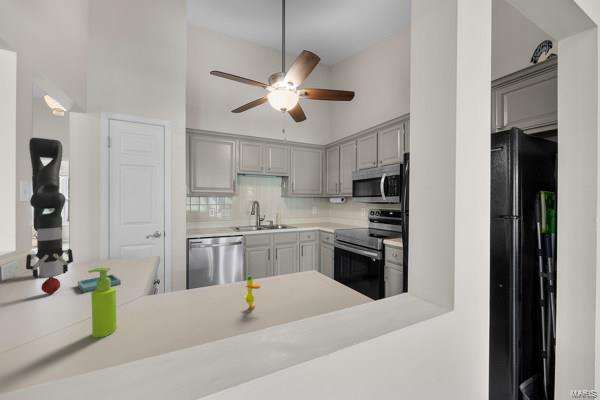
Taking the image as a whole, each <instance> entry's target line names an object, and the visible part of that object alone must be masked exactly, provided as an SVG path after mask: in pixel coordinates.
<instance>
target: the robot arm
mask: <svg viewBox="0 0 600 400" xmlns="http://www.w3.org/2000/svg"><path fill="white" fill-rule="evenodd" d="M28 147H29V155H30V161H31V170H32V172H31V173H32V174H31V179H32V180H31V185H32V187H31V189H32V194H31V197H30V201H29V202H30V206H31V207H32V208H33V217H32V219H33V220H32V221H33V223H32V224H33V230H34V231H36V243H37V244H36V247H37V248H36V249H37V252H36V253H32V254H31V253H28V254H26V257H25V258H26V259H25V261H26V262H25V268H26V270H31V271H32V277H33V278H35V279H39V278H49V276H52V277H54V276H55V277H56V276H59V275H61V274H66V273H67V272H68V270H69V269H68V267H69V264H70V263H73V262H74V256H73V249H71V248H68V249H64V250H63V216H62V212H63V209H64V206H65V203H66V196H65V195H64V193H62V192H59V189H60V170H61V165H62V158H63V145H62V142H61V141H60V140H57V139H53V138H51V139H50V138H44V137H31V138H30V139H29V145H28ZM41 158H42V159H51V160H50V161H49V162H48V163H47V164H45V165H44V163H43V162H42V159H41ZM50 209H51V210H52V209H53V211H52V212H49V213H46V214H45V213H44V211H45V210H50ZM63 254H65V255H67V257H68V260H66V259H64V258H63V257H64V256H63ZM34 258H37V259H38V260H37V261H36V262H35V264H33V265H31V264H32V260H34Z"/></svg>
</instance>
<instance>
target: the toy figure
mask: <svg viewBox="0 0 600 400" xmlns="http://www.w3.org/2000/svg"><path fill="white" fill-rule="evenodd" d="M246 277H247V278H246V285H245V288H247V295H243V296H244V298H245V302H246V303H247V304H248V305H249V306H248V309H249V308H251V309H250V310H253V309H255V308H256V306H255V305H254V304H253V303H254V302H255V296H254V293H253V290H258V289H261V284H257V283H253V282H254V281H253V277H252V275H247V276H246Z"/></svg>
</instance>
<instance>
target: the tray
mask: <svg viewBox="0 0 600 400" xmlns="http://www.w3.org/2000/svg"><path fill="white" fill-rule="evenodd" d="M107 277H108V278H110V282H111V287H115V286H120V285H121V284H122V280H121V279H120V278H119V277H117V276H116V275H115V274H112V273H111V274H107ZM99 279H100V276H98V277H94V278H92V277H91V278H87V279H83V280H78V281H77V287H78V288H79V289H80V290H81V292H82V294H87V293H90V292H91V293H92V292H93V291H96V290H97V280H99Z"/></svg>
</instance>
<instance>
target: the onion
mask: <svg viewBox="0 0 600 400" xmlns="http://www.w3.org/2000/svg"><path fill="white" fill-rule="evenodd" d="M60 288H61V282H60V279H58V278H55V277H54V276H49V277H48V278H47V279H46V280H44V282H43V283H42V285H41V291H42V292H43V293H46V294H48V295H53V294H55V292H57V291H58V290H59V289H60Z"/></svg>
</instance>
